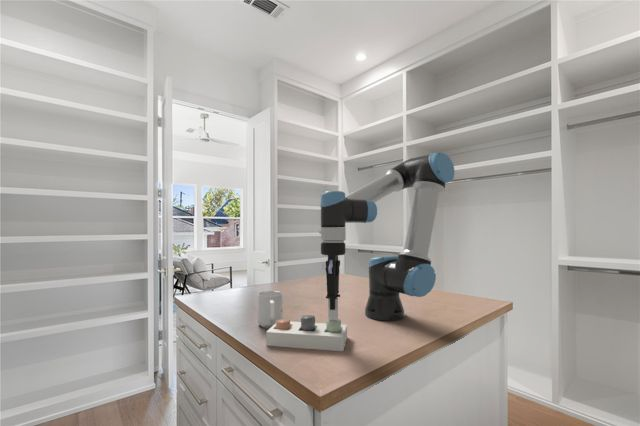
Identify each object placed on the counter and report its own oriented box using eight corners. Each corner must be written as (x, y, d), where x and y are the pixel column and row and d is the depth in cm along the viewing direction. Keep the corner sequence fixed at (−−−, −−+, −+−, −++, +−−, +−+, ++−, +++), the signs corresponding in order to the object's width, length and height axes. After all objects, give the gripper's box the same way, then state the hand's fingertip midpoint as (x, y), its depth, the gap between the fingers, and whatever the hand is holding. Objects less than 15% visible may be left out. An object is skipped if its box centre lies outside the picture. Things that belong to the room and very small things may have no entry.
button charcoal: (316, 328, 97) (316, 315, 97) (313, 333, 92) (313, 319, 93) (302, 328, 98) (302, 314, 98) (299, 332, 93) (299, 318, 93)
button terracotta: (291, 332, 98) (291, 319, 98) (287, 337, 94) (287, 323, 94) (278, 332, 99) (278, 318, 99) (274, 336, 95) (274, 323, 95)
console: (347, 337, 98) (347, 324, 98) (343, 351, 87) (343, 336, 87) (278, 332, 103) (278, 320, 103) (266, 345, 92) (266, 331, 92)
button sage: (341, 332, 95) (341, 318, 95) (339, 337, 91) (339, 322, 91) (327, 331, 96) (327, 317, 96) (325, 336, 92) (325, 322, 92)
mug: (257, 321, 115) (257, 291, 115) (281, 319, 117) (280, 290, 117) (259, 332, 103) (259, 299, 103) (285, 330, 105) (285, 297, 106)
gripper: (324, 240, 102) (324, 312, 101) (316, 242, 89) (316, 325, 88) (347, 240, 100) (347, 314, 99) (342, 243, 87) (342, 327, 86)
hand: (333, 319), depth 94 cm, fingers closed
